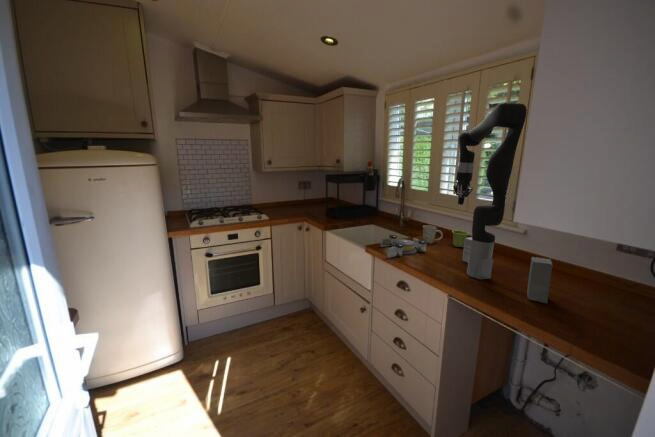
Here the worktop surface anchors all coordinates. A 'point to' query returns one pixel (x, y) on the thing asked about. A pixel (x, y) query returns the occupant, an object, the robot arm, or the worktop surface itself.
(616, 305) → the worktop surface
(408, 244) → the level instrument
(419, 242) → the footscrew right
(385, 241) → the footscrew far
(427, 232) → the mug
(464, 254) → the supplement box
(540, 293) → the skincare box
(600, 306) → the worktop surface
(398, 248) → the footscrew left
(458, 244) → the plant pot
